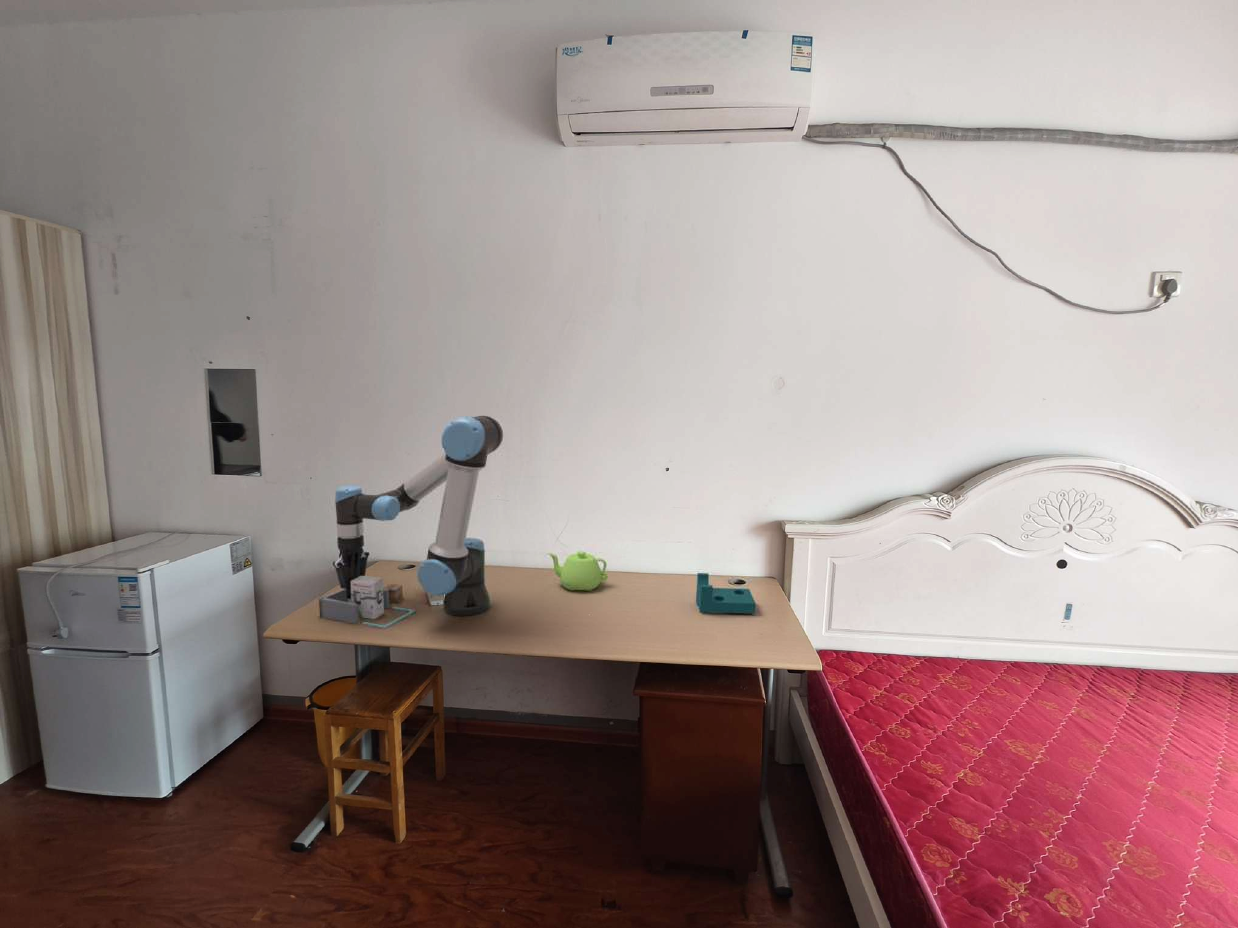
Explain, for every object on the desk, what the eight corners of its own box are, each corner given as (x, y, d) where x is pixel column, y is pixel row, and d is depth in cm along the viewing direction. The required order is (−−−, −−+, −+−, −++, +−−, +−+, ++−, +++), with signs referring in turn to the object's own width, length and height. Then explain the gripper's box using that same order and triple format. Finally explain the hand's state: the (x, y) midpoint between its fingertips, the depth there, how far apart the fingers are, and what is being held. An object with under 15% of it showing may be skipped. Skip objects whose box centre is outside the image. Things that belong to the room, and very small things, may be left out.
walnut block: (402, 598, 194) (402, 584, 194) (396, 604, 190) (395, 589, 189) (388, 597, 195) (388, 583, 194) (381, 603, 190) (380, 589, 189)
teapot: (545, 593, 202) (545, 557, 200) (549, 579, 217) (549, 545, 215) (607, 594, 203) (608, 558, 201) (607, 579, 218) (608, 546, 216)
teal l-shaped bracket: (699, 616, 187) (701, 586, 185) (695, 600, 198) (697, 572, 195) (754, 617, 187) (757, 588, 185) (747, 602, 198) (750, 574, 195)
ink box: (350, 616, 179) (348, 580, 177) (360, 610, 183) (359, 575, 182) (375, 619, 177) (373, 582, 175) (384, 613, 182) (383, 577, 180)
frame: (415, 611, 184) (415, 610, 184) (384, 628, 171) (384, 627, 171) (394, 607, 186) (394, 606, 186) (362, 624, 173) (362, 622, 173)
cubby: (389, 607, 187) (388, 589, 186) (355, 624, 173) (355, 605, 172) (355, 600, 191) (354, 583, 190) (319, 616, 178) (318, 598, 177)
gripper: (356, 529, 186) (359, 598, 190) (324, 539, 174) (328, 612, 177) (375, 531, 184) (377, 601, 187) (343, 542, 172) (347, 616, 175)
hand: (353, 606), depth 182 cm, fingers closed
